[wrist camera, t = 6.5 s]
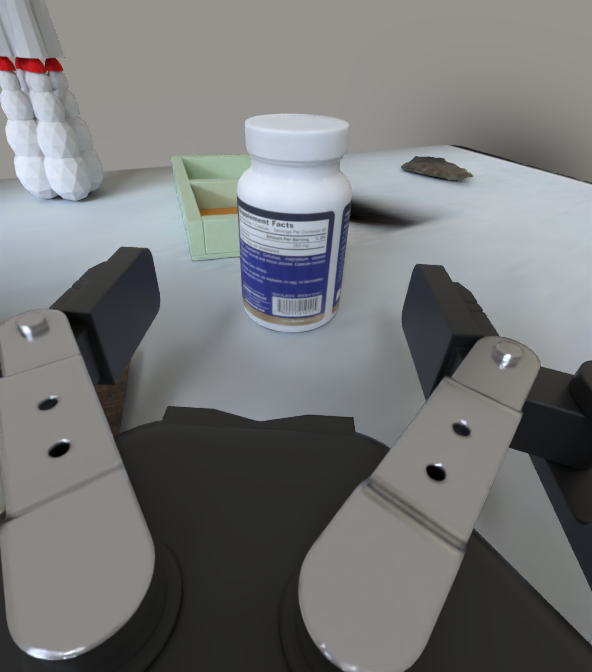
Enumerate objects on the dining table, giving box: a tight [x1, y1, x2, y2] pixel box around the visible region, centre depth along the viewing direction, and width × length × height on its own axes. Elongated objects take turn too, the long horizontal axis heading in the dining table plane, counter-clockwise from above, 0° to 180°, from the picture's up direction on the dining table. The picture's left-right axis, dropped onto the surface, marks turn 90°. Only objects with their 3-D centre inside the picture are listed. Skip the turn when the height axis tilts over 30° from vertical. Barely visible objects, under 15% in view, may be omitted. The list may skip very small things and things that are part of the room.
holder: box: [171, 154, 252, 261], centre depth 35 cm, size 10×19×3 cm, turn 18°
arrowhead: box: [401, 156, 473, 180], centre depth 50 cm, size 7×10×1 cm
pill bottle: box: [237, 114, 352, 332], centre depth 20 cm, size 6×6×10 cm
